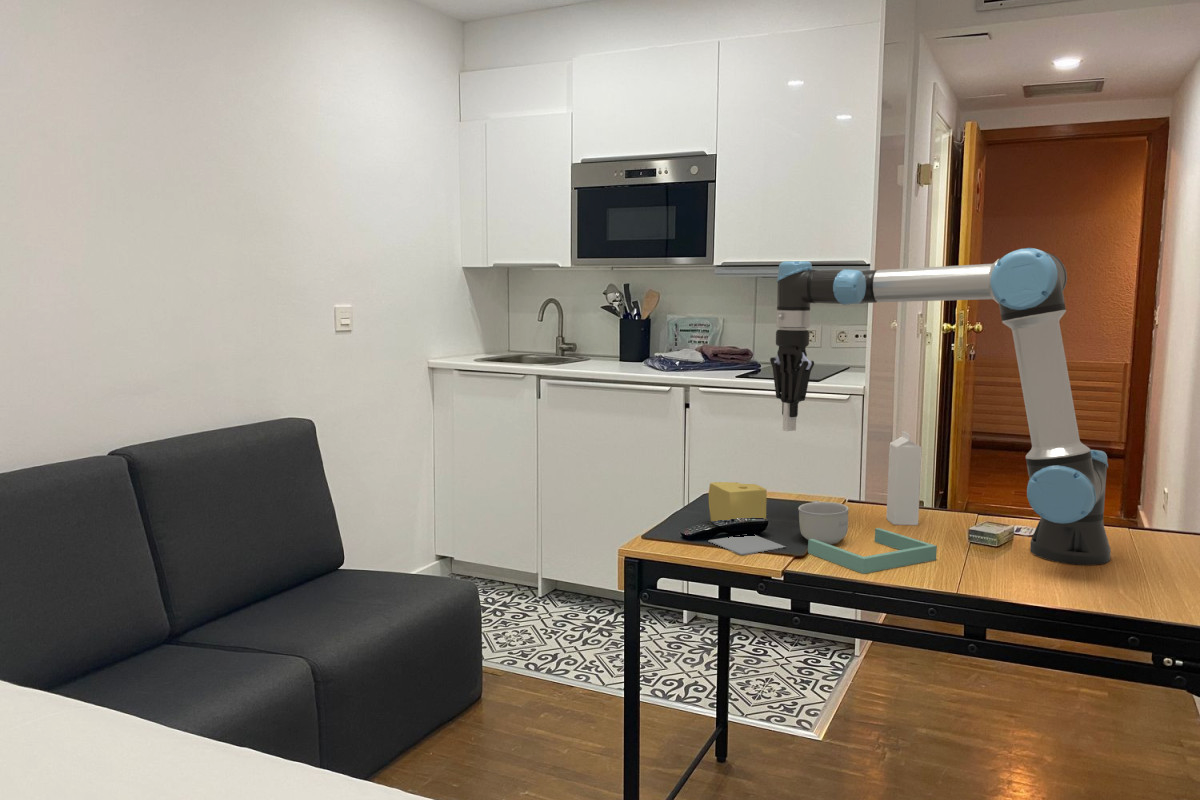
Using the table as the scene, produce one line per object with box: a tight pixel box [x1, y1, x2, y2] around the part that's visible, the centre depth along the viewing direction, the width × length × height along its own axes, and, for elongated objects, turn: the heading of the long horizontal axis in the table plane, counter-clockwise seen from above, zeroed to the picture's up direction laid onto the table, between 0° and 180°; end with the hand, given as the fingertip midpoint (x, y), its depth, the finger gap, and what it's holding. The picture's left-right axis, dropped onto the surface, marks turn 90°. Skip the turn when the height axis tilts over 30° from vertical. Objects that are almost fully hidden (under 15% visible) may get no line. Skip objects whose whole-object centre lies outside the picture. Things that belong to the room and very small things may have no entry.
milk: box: [886, 430, 923, 526], centre depth 221 cm, size 6×6×22 cm
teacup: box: [797, 500, 850, 545], centre depth 206 cm, size 14×11×8 cm
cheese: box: [708, 481, 768, 522], centre depth 217 cm, size 10×11×10 cm
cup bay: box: [807, 527, 938, 575], centre depth 193 cm, size 16×20×3 cm
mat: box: [707, 534, 787, 556], centre depth 201 cm, size 12×12×1 cm
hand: (789, 430), depth 214 cm, fingers closed
